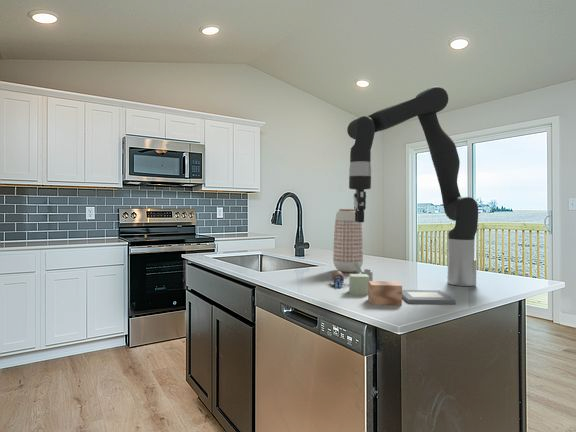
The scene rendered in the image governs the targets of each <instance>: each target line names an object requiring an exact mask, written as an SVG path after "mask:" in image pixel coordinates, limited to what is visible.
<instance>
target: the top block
mask: <svg viewBox="0 0 576 432" xmlns="http://www.w3.org/2000/svg"><path fill="white" fill-rule="evenodd" d="M348 274H349V276H348V277H349V281H348V282H349V283H348V285H349V287H348V292H349V294H350V295H368V281H369V276H368V275H367V274H361V273H348Z"/></svg>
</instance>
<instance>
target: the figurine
mask: <svg viewBox="0 0 576 432" xmlns="http://www.w3.org/2000/svg"><path fill="white" fill-rule="evenodd" d="M331 281H332V282H331V283H330V285H331V286H332V285H334V286H335V287H334V288H335V289H341V288H342V286H345V285H347V283H346V282H344V281H345V275H344V273H343V272H341V271H338V270H334V271H333V272H332V273H331Z"/></svg>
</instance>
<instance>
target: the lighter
mask: <svg viewBox="0 0 576 432" xmlns="http://www.w3.org/2000/svg"><path fill="white" fill-rule="evenodd" d="M354 265H355V267H356V269H357V272H356V273H357V274H367V275H368V276H369V281H374V280H373V275H374V274H373V272H374V271H371V269H370V268H365V269H363V270H362V269H361V268H362V267H361V268H360V266H359V264H358V262H355V263H354Z"/></svg>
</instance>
